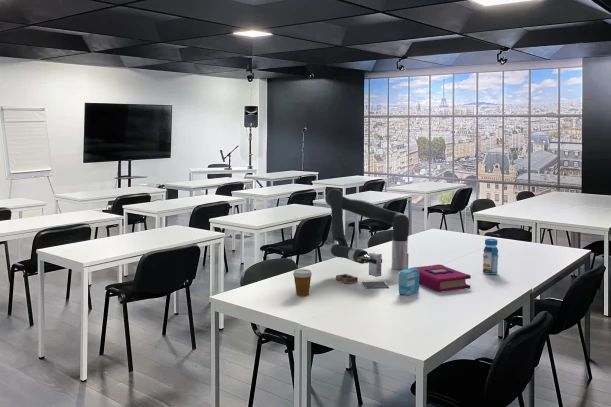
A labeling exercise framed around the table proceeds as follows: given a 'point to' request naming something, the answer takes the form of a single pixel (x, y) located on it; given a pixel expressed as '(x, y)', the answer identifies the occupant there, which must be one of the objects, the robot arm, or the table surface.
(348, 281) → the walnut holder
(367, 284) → the black mat
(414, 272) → the data package
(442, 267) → the book
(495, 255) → the beverage bottle
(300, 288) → the disposable coffee cup
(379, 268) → the light grey rectangular block
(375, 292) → the table surface
